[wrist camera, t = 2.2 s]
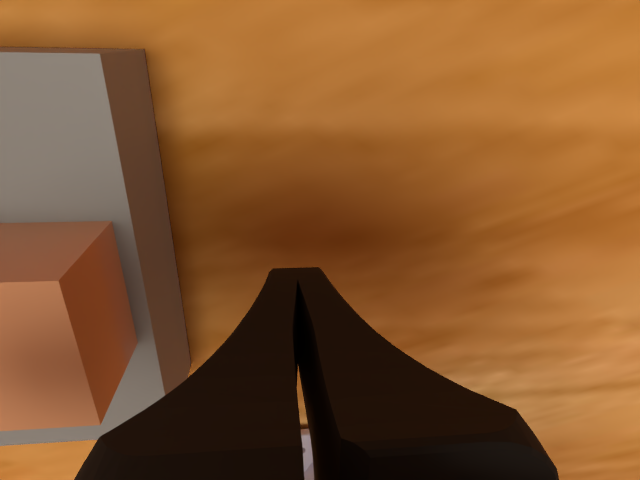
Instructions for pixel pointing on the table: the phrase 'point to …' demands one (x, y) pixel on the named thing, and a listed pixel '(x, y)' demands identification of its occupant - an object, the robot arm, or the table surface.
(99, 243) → the orange brown block
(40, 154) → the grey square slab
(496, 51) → the table surface
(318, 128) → the table surface
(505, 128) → the table surface
